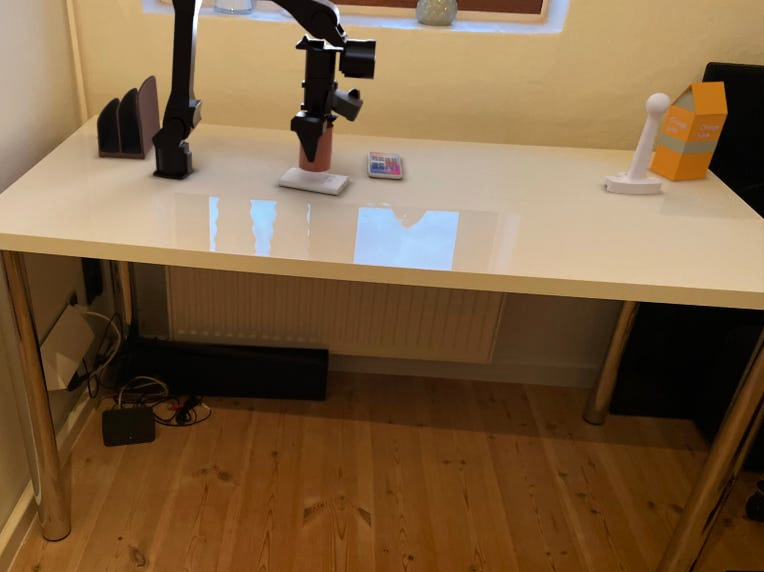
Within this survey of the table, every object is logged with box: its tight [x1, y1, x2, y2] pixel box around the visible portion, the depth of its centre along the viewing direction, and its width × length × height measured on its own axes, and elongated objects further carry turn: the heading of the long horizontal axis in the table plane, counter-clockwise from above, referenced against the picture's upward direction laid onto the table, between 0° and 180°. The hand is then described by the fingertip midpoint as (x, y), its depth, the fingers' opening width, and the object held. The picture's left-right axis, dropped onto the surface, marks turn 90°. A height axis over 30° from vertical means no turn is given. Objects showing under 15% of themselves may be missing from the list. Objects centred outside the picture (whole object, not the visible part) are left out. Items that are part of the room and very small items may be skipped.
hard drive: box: [278, 167, 350, 196], centre depth 150 cm, size 2×8×12 cm
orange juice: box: [649, 81, 729, 182], centre depth 161 cm, size 8×9×20 cm
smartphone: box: [367, 151, 403, 180], centre depth 161 cm, size 7×1×15 cm
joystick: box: [603, 92, 671, 195], centre depth 152 cm, size 11×8×20 cm
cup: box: [298, 121, 335, 173], centre depth 146 cm, size 6×6×8 cm
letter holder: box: [96, 75, 162, 160], centre depth 163 cm, size 10×20×14 cm, turn 179°
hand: (315, 157), depth 147 cm, fingers closed on cup, 6 cm apart
